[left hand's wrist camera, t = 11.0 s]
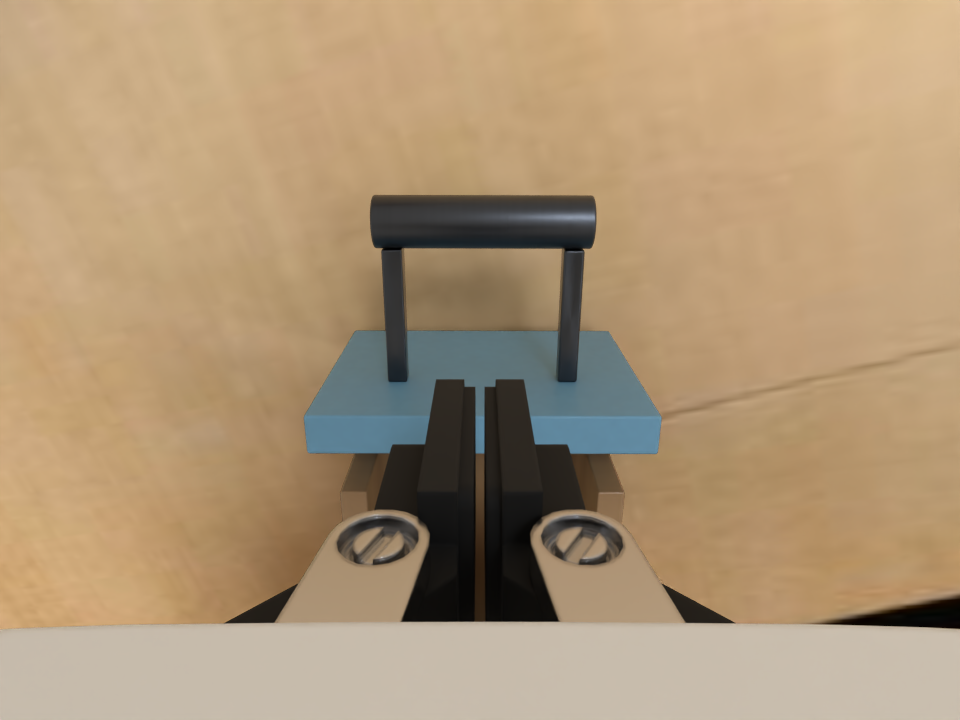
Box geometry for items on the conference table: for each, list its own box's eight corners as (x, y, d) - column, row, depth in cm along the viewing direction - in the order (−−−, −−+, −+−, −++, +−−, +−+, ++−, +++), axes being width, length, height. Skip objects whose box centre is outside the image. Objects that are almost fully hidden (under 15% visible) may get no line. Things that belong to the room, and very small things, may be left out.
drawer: (344, 180, 23) (280, 206, 16) (620, 181, 23) (686, 207, 16) (376, 649, 30) (344, 815, 23) (584, 649, 30) (617, 815, 23)
